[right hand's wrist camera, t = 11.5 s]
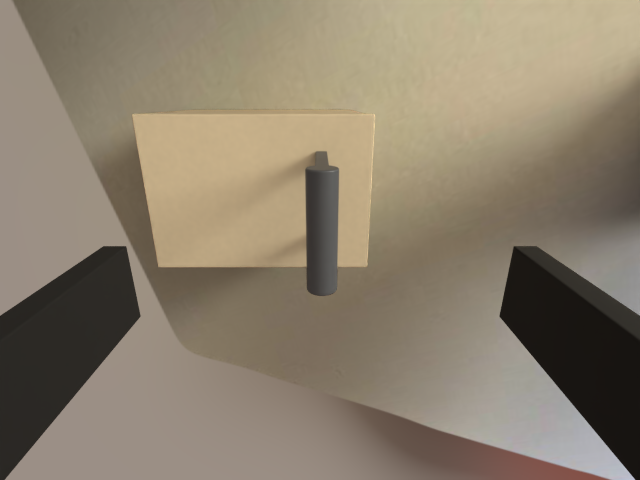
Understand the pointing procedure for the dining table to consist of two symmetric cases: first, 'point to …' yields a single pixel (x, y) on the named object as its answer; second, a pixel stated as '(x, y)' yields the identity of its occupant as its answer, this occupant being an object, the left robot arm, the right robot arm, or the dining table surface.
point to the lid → (259, 190)
